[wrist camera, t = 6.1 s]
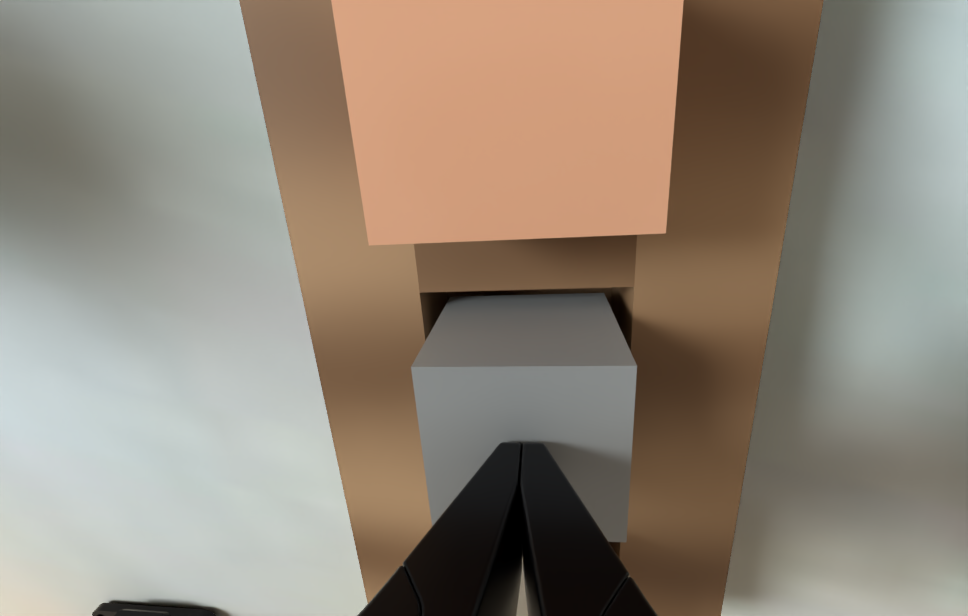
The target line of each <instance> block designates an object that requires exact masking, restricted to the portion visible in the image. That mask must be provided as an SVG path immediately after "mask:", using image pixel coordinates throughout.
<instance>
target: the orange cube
mask: <svg viewBox="0 0 968 616" xmlns="http://www.w3.org/2000/svg"><path fill="white" fill-rule="evenodd" d="M331 2H332V9H333V16H334V22H335V29H336V35H337V42H338V48H339V55H340V61H341V68H342V74H343V81H344V87H345V94H346V100H347V107H348V113H349V120H350V126H351V133H352V139H353V146H354V153H355V159H356V166H357V172H358V179H359V185H360V192H361V198H362V205H363V211H364V218H365V224H366V231H367V237H368V244H369V246H370V245H394V244H419V243H444V242H468V241H493V240H517V239H542V238H566V237H591V236H615V235H640V234H664V233H666V225H667V212H668V199H669V186H670V173H671V160H672V146H673V133H674V120H675V107H676V94H677V81H678V68H679V55H680V41H681V28H682V15H683V2H684V0H331Z"/></svg>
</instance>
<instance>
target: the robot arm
mask: <svg viewBox="0 0 968 616" xmlns="http://www.w3.org/2000/svg"><path fill="white" fill-rule="evenodd" d="M522 559H523V571H524V584H525V593H526V603H527V612H528V616H658V615H657V614H656V612H655V611H654V609H653V608H652V606H651V605H650V604H649V602H648V601H647V599H646V598H645V596H644V595H643V593H642V592H641V590H640V589H639V587H638V586H637V584H636V582H635V581H634V579H633V578H631V577H630V574H629V572H628V571H627V569H626V568H625V566H624V565H623V563H622V562H621V560H620V558H619V557H618V555H617V554H616V552H615V551H614V549H613V548H612V546H611V545H610V543H609V542H608V540H607V539H606V537H605V536H604V534H603V533H602V531H601V530H600V528H599V526H598V525H597V523H596V522H595V520H594V519H593V517H592V516H591V514H590V513H589V511H588V510H587V508H586V507H585V505H584V504H583V502H582V501H581V499H580V497H579V496H578V494H577V493H576V491H575V490H574V488H573V487H572V485H571V484H570V482H569V481H568V479H567V478H566V476H565V475H564V473H563V472H562V470H561V469H560V467H559V465H558V464H557V462H556V461H555V459H554V458H553V456H552V455H551V453H550V452H549V450H548V449H547V447H546V446H545V444H543V443H524V444H523V445H521V444H520V443H518V442H502V443H500V444H499V445H498V446H497V447H496V448H495V450H494V451H493V452H492V453H491V455H490V456H489V457H488V458H487V460H486V461H485V462H484V463H483V464H482V466H481V467H480V468H479V469H478V471H477V472H476V473H475V474H474V476H473V477H472V478H471V479H470V480H469V482H468V483H467V484H466V485H465V487H464V488H463V489H462V490H461V492H460V493H459V494H458V495H457V496H456V498H455V499H454V500H453V501H452V503H451V504H450V505H449V506H448V508H447V509H446V510H445V511H444V512H443V514H442V515H441V516H440V517H439V519H438V520H437V521H436V522H435V524H434V525H433V526H432V527H431V528H430V530H429V531H428V532H427V533H426V535H425V536H424V537H423V538H422V540H421V541H420V542H419V543H418V544H417V546H416V547H415V548H414V549H413V551H412V552H411V553H410V554H409V556H408V557H407V558H406V559H405V560H404V562H403V566H399V567H398V569H397V570H396V571H395V572H394V574H393V575H392V576H391V577H390V579H389V580H388V581H387V582H386V583H385V585H384V586H383V587H382V588H381V589H380V590H379V592H378V593H377V594H376V595H375V596H374V597H373V599H372V600H371V601H370V602H369V603H368V604H367V606H366V607H365V608H364V609H363V610H362V611H361V612H360V613H359V614H358V615H357V616H516V613H517V606H518V598H519V591H520V583H521V574H522ZM92 615H93V616H216V615H215V614H214V613H213V612H211V611H209V610H202V609H187V608H172V607H158V606H143V605H128V604H114V603H102V604H100V605H99V607H98V608H97V609H96V610H95V611H94V612H93V614H92Z"/></svg>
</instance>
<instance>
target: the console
mask: <svg viewBox="0 0 968 616" xmlns="http://www.w3.org/2000/svg"><path fill="white" fill-rule="evenodd" d="M239 1H240V6H241V10H242V15H243V20H244V24H245V29H246V34H247V38H248V43H249V48H250V53H251V57H252V62H253V67H254V71H255V76H256V81H257V85H258V90H259V95H260V99H261V104H262V109H263V114H264V118H265V123H266V128H267V132H268V137H269V142H270V146H271V151H272V156H273V161H274V165H275V170H276V175H277V179H278V184H279V189H280V193H281V198H282V203H283V207H284V212H285V217H286V222H287V226H288V231H289V236H290V240H291V245H292V250H293V254H294V259H295V264H296V268H297V273H298V278H299V283H300V287H301V292H302V297H303V301H304V306H305V311H306V315H307V320H308V325H309V329H310V334H311V339H312V344H313V348H314V353H315V358H316V362H317V367H318V372H319V376H320V381H321V386H322V390H323V395H324V400H325V405H326V409H327V414H328V419H329V423H330V428H331V433H332V437H333V442H334V447H335V451H336V456H337V461H338V466H339V470H340V475H341V480H342V484H343V489H344V494H345V498H346V503H347V508H348V512H349V517H350V522H351V527H352V531H353V536H354V541H355V545H356V550H357V555H358V559H359V564H360V569H361V574H362V578H363V583H364V588H365V592H366V597H367V602H368V603H369V602H370V601H371V600H372V599H373V597H374V596H375V595H376V594H377V593H378V592H379V590H380V589H381V588H382V587H383V586H384V585H385V583H386V582H387V581H388V580H389V579H390V577H391V576H392V575H393V574H394V572H395V571H396V570H397V569H398V567H399V566H403V562H404V560H405V559H406V558H407V557H408V556H409V554H410V553H411V552H412V551H413V549H414V548H415V547H416V546H417V544H418V543H419V542H420V541H421V540H422V538H423V537H424V536H425V535H426V533H427V532H428V531H429V530H430V528H431V527H432V521H431V514H430V506H429V499H428V491H427V484H426V476H425V469H424V461H423V454H422V446H421V439H420V431H419V424H418V416H417V409H416V401H415V394H414V386H413V379H412V371H411V366H412V364H413V362H414V361H415V359H416V357H417V355H418V353H419V352H420V350H421V348H422V346H423V345H424V343H425V341H426V339H427V337H428V336H429V334H430V332H431V330H432V328H433V327H434V325H435V323H436V321H437V320H438V318H439V316H440V314H441V312H442V311H443V309H444V307H445V305H446V303H447V302H448V300H449V298H450V297H459V296H498V295H538V294H577V293H604V294H605V296H606V298H607V301H608V303H609V305H610V307H611V309H612V312H613V314H614V316H615V318H616V320H617V323H618V325H619V327H620V329H621V331H622V334H623V336H624V338H625V340H626V342H627V345H628V347H629V349H630V351H631V354H632V356H633V358H634V360H635V362H636V365H637V375H636V392H635V408H634V425H633V442H632V458H631V475H630V491H629V508H628V525H627V541H626V542H609V543H610V545H611V546H612V548H613V549H614V551H615V552H616V554H617V555H618V557H619V558H620V560H621V562H622V563H623V565H624V566H625V568H626V569H627V571H628V572H629V574H630V577H631V578H633V579H634V581H635V582H636V584H637V586H638V587H639V589H640V590H641V592H642V593H643V595H644V596H645V598H646V599H647V601H648V602H649V604H650V605H651V606H652V608H653V609H654V611H655V612H656V614H657V615H658V616H721V610H722V604H723V598H724V592H725V586H726V580H727V574H728V568H729V563H730V557H731V551H732V545H733V539H734V533H735V527H736V521H737V515H738V509H739V503H740V497H741V491H742V485H743V479H744V473H745V467H746V461H747V455H748V449H749V443H750V437H751V431H752V425H753V419H754V413H755V407H756V401H757V395H758V389H759V383H760V377H761V371H762V365H763V359H764V353H765V347H766V341H767V335H768V329H769V323H770V318H771V312H772V306H773V300H774V294H775V288H776V282H777V276H778V270H779V264H780V258H781V252H782V246H783V240H784V234H785V228H786V222H787V216H788V210H789V204H790V198H791V192H792V186H793V180H794V174H795V168H796V162H797V156H798V150H799V144H800V138H801V132H802V126H803V120H804V114H805V108H806V102H807V96H808V90H809V84H810V78H811V73H812V67H813V61H814V55H815V49H816V43H817V37H818V31H819V25H820V19H821V13H822V7H823V1H824V0H684V2H683V15H682V28H681V41H680V55H679V68H678V81H677V94H676V107H675V120H674V133H673V146H672V160H671V173H670V186H669V199H668V212H667V225H666V233H664V234H640V235H615V236H591V237H566V238H542V239H517V240H493V241H468V242H444V243H419V244H394V245H370V246H369V244H368V237H367V231H366V224H365V218H364V211H363V205H362V198H361V192H360V185H359V179H358V172H357V166H356V159H355V153H354V146H353V139H352V133H351V126H350V120H349V113H348V107H347V100H346V94H345V87H344V81H343V74H342V68H341V61H340V55H339V48H338V42H337V35H336V29H335V22H334V16H333V9H332V2H331V0H239Z"/></svg>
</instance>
